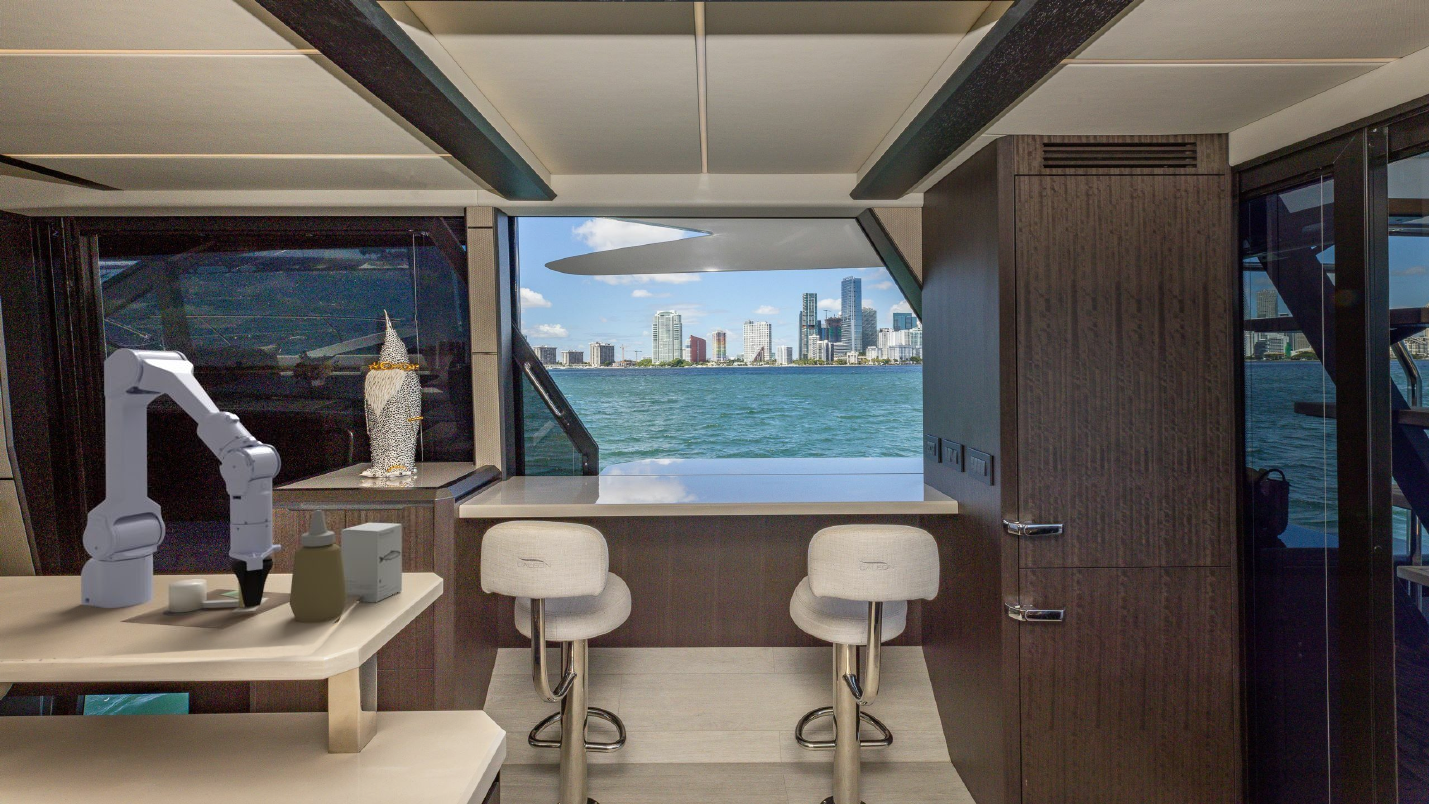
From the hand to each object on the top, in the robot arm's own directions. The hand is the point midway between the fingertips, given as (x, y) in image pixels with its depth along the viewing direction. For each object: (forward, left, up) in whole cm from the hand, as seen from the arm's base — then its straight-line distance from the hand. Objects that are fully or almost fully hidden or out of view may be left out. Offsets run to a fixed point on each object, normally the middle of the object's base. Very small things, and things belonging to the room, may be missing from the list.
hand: (252, 605), depth 117 cm
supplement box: (+11, +15, -3) cm, 19 cm away
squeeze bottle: (+12, 0, -3) cm, 12 cm away
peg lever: (-8, +1, -1) cm, 8 cm away
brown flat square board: (-7, +1, -2) cm, 8 cm away
